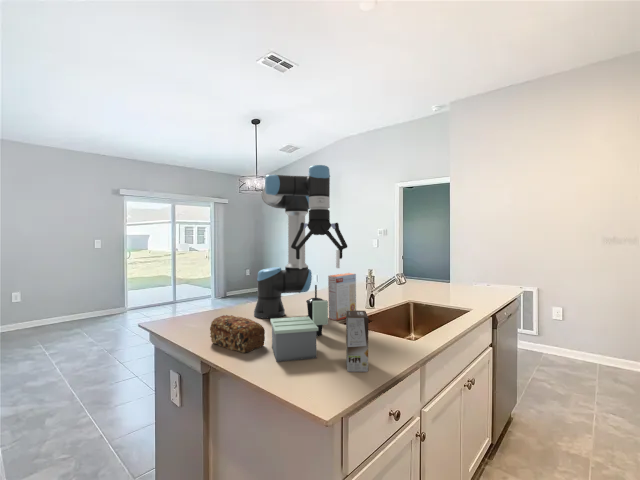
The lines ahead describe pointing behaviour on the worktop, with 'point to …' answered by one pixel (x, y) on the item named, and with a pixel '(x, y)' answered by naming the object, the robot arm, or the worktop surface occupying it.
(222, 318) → the bread
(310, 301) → the drinking cup
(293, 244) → the robot arm
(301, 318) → the lid
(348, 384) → the worktop surface
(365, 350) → the coffee box
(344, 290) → the cracker box
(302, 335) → the tub
